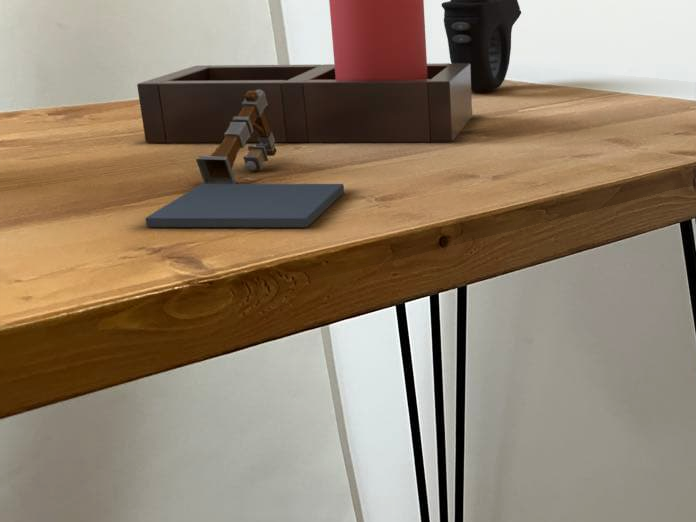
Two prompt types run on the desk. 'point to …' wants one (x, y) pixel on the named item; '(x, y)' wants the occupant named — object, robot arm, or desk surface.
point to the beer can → (378, 39)
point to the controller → (481, 38)
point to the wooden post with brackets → (240, 142)
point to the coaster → (248, 206)
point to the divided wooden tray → (307, 104)
